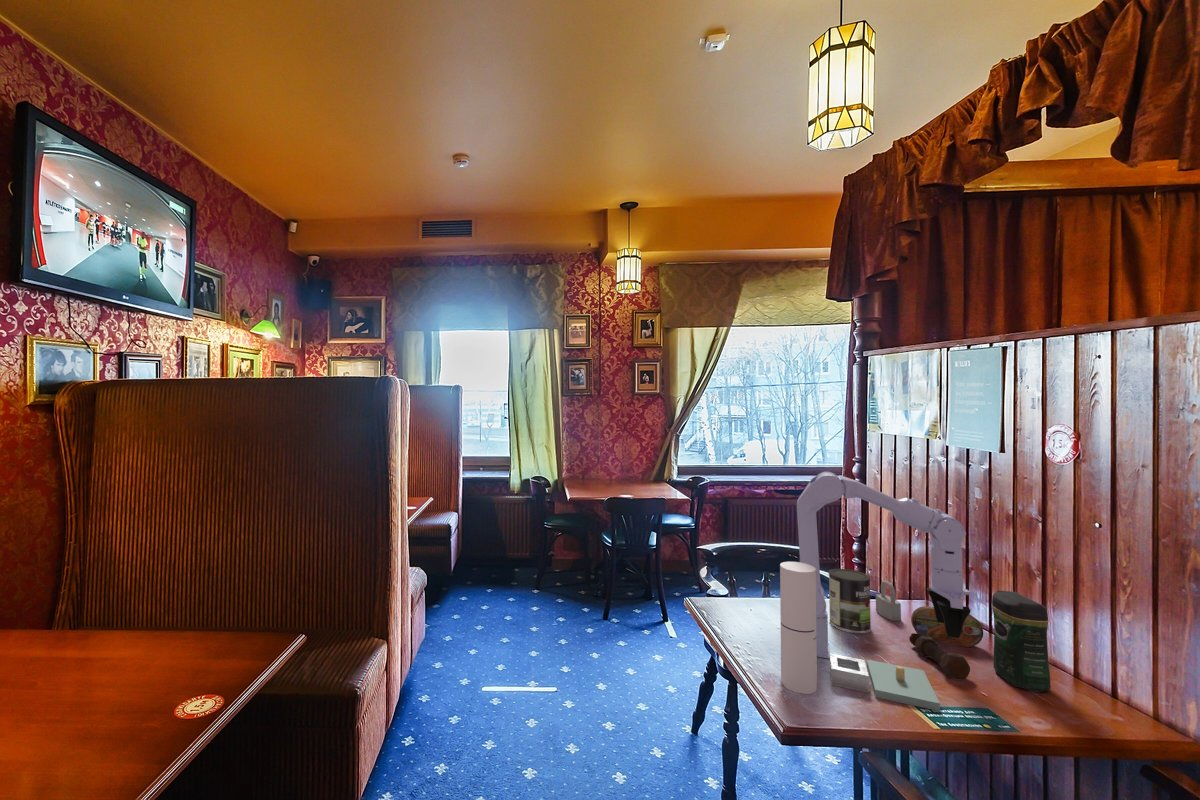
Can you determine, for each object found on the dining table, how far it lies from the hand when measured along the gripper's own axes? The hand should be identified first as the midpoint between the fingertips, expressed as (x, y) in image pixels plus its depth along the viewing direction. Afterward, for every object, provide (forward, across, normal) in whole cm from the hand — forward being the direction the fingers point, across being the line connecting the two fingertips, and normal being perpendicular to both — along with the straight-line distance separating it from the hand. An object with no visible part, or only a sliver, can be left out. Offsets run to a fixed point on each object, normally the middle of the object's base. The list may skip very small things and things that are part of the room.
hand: (947, 629), depth 103 cm
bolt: (+11, +6, +1) cm, 12 cm away
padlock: (+10, +31, +7) cm, 33 cm away
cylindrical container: (+10, -18, +31) cm, 37 cm away
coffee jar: (+10, +4, -14) cm, 18 cm away
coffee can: (+10, +19, +18) cm, 28 cm away
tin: (+10, +19, -4) cm, 22 cm away
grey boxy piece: (+10, -12, +21) cm, 26 cm away
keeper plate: (+10, -10, +11) cm, 18 cm away
